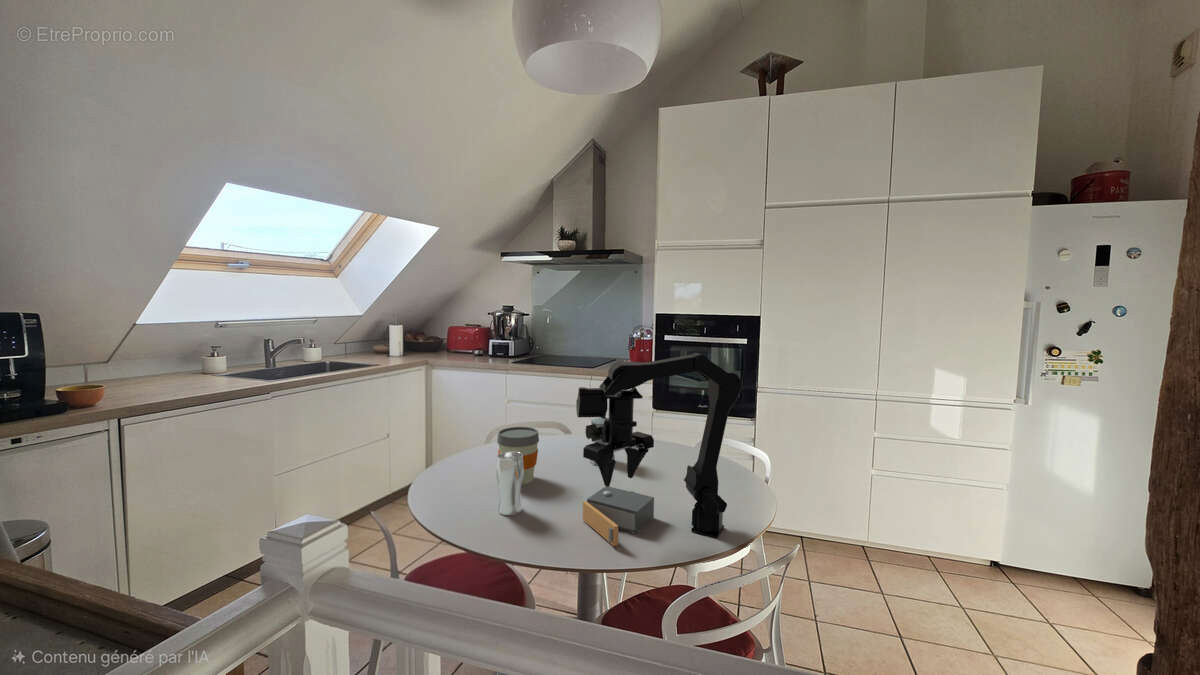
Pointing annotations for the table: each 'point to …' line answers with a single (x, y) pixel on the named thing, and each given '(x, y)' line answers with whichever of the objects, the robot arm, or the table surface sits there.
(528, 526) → the table surface
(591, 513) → the side door
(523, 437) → the reusable coffee cup
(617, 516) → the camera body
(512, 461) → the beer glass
